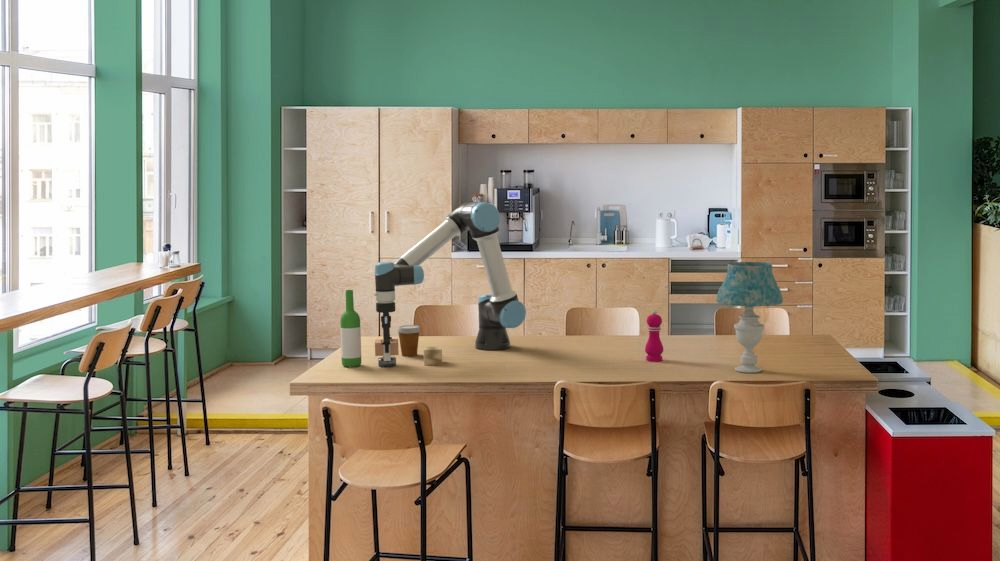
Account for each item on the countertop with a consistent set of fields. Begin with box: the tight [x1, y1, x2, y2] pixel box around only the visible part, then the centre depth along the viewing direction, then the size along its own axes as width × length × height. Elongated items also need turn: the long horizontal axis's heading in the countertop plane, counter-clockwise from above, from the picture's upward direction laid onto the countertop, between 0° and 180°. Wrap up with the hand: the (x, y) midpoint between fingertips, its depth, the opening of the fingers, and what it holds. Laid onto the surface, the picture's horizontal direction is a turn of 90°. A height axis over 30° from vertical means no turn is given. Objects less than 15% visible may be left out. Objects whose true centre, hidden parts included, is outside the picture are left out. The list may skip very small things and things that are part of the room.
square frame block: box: [374, 338, 400, 357], centre depth 388 cm, size 9×9×5 cm
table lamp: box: [716, 261, 784, 374], centre depth 366 cm, size 24×24×40 cm
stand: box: [423, 346, 443, 366], centre depth 392 cm, size 7×7×6 cm
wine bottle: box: [340, 289, 362, 368], centre depth 389 cm, size 8×8×30 cm
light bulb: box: [377, 340, 397, 369], centre depth 388 cm, size 7×7×10 cm
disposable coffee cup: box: [396, 324, 421, 357], centre depth 410 cm, size 10×10×12 cm
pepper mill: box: [644, 310, 664, 363], centre depth 390 cm, size 7×7×20 cm
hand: (387, 358), depth 389 cm, fingers open, 9 cm apart
